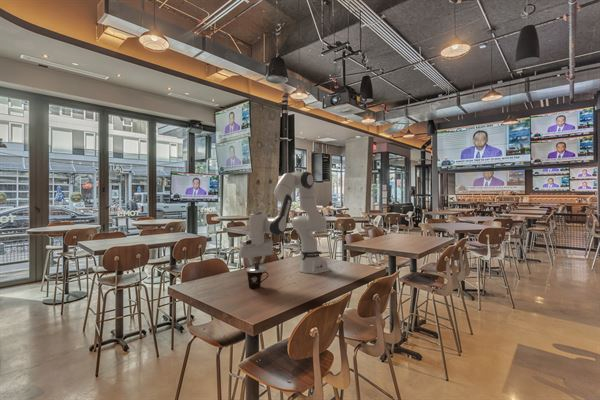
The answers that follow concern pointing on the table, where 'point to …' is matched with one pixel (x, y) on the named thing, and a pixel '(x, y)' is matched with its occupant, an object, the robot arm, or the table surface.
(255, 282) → the coffee mug
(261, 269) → the lid
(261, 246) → the robot arm
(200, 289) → the table surface
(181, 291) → the table surface
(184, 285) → the table surface
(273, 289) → the table surface
